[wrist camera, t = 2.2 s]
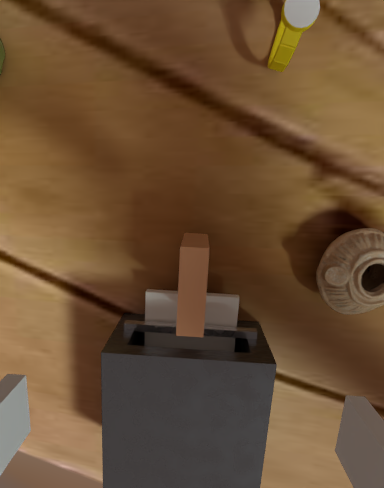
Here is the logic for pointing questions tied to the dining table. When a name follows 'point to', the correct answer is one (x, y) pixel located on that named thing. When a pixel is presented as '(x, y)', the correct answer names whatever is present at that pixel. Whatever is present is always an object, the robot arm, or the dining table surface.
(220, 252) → the dining table surface
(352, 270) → the pottery oil lamp
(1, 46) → the plant pot
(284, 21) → the watch
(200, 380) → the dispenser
